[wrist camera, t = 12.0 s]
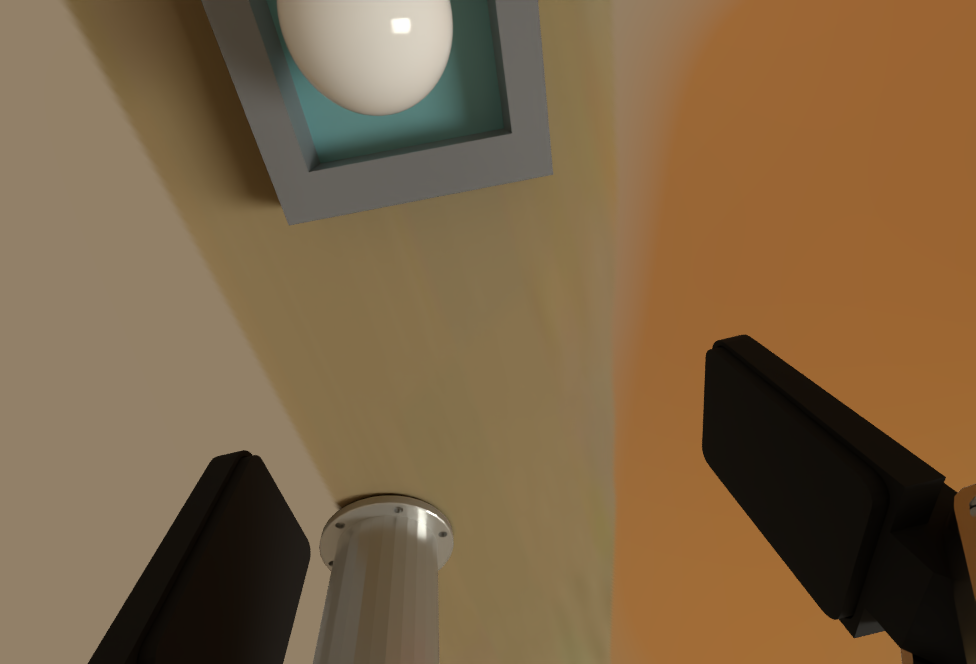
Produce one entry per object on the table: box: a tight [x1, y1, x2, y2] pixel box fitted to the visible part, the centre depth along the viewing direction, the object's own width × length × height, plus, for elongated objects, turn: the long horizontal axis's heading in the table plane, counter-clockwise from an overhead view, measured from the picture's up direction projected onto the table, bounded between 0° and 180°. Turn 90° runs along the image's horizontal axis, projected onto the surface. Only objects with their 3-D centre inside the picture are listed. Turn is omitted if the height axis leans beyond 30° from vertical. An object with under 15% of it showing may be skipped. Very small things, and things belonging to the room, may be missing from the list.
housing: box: [201, 0, 553, 225], centre depth 23 cm, size 16×15×4 cm
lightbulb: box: [276, 0, 453, 116], centre depth 19 cm, size 6×6×11 cm
